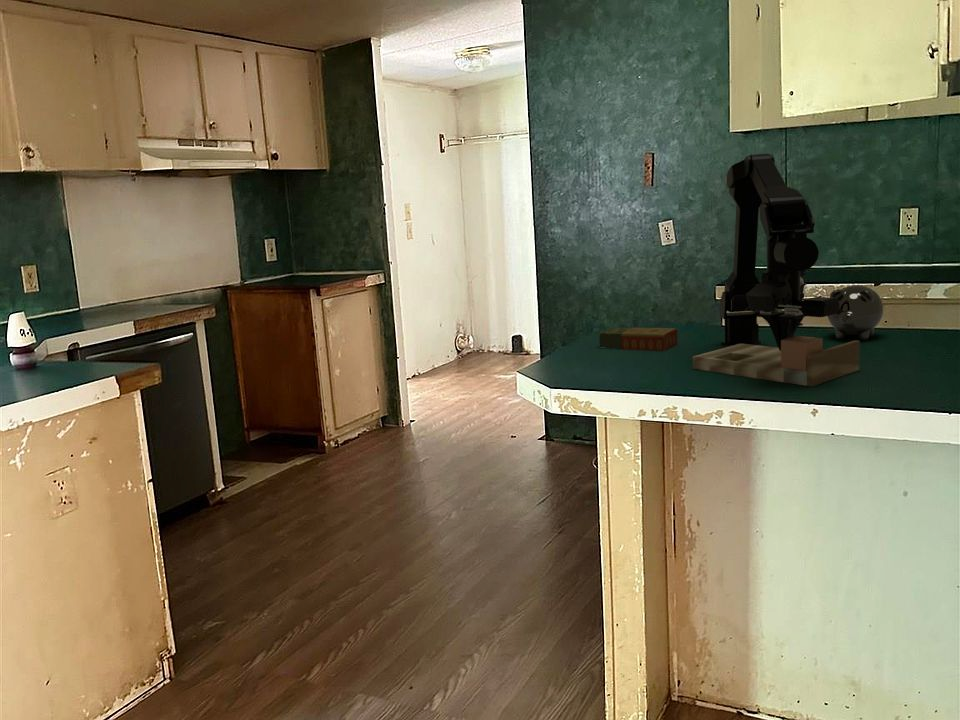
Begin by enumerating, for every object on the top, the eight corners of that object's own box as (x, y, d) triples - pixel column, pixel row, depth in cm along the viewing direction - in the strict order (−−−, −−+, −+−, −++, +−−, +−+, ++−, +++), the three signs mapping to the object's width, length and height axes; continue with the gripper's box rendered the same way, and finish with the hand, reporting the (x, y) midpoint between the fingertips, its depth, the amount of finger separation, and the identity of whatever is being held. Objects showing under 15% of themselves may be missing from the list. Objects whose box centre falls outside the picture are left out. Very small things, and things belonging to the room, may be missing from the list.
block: (780, 367, 149) (780, 340, 148) (797, 362, 152) (797, 335, 151) (806, 370, 145) (806, 342, 144) (822, 365, 148) (822, 338, 147)
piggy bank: (819, 342, 180) (820, 290, 178) (834, 330, 192) (835, 281, 190) (875, 344, 174) (876, 290, 172) (887, 332, 186) (888, 281, 184)
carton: (664, 353, 183) (664, 334, 182) (599, 349, 192) (598, 331, 191) (678, 345, 190) (677, 327, 189) (614, 343, 198) (613, 325, 198)
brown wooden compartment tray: (692, 368, 164) (692, 341, 163) (741, 355, 173) (740, 329, 172) (812, 386, 144) (812, 355, 143) (859, 369, 153) (859, 340, 152)
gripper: (712, 269, 151) (713, 352, 154) (806, 272, 137) (805, 364, 140) (748, 263, 158) (748, 343, 161) (841, 265, 143) (840, 353, 146)
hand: (782, 350), depth 152 cm, fingers closed
